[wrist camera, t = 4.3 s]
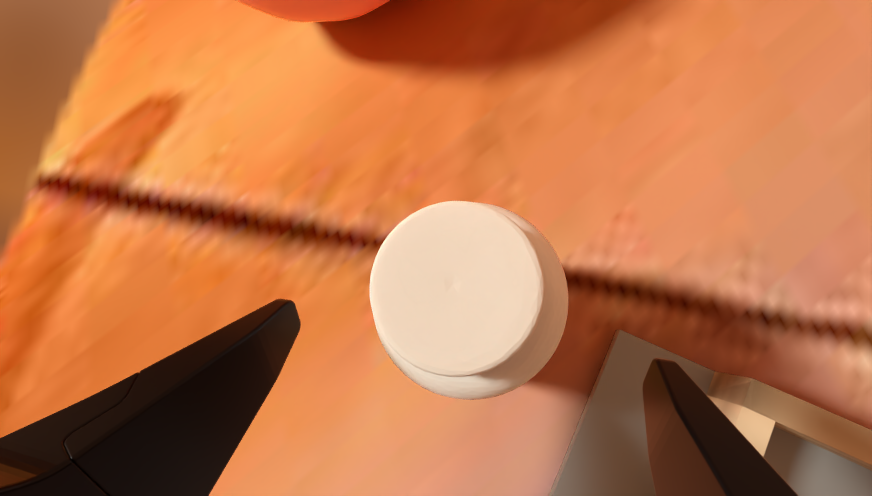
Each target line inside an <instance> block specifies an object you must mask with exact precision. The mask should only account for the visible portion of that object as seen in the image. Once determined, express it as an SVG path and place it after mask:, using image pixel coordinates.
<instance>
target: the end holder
mask: <svg viewBox="0 0 872 496" xmlns="http://www.w3.org/2000/svg"><path fill="white" fill-rule="evenodd" d="M706 395H707V396H708V397H709V398H710V399H711V400H712V401H713V403H714V404H715V405H716V406H717V407H718V408H719V409H720V410H721V411H722V412H723V414H724V415H725V416H726V417H727V418H728V419H729V420H730V421H731V422H732V423H733V424H734V426H735V427H736V428H737V429H738V430H739V431H740V432H741V433H742V434H743V435H744V436H745V438H746V439H747V440H748V441H749V442H750V443H751V444H752V445H753V446H754V447H755V449H756V450H757V451H758V452H759V453H760V454H761V455H762V456H764V454H765V451H766V448H767V445H768V442H769V439H770V436H771V433H772V430H773V427H774V426H775V427H777V428H780V429H782V430H784V431H786V432H788V433H790V434H793V435H795V436H797V437H799V438H801V439H804V440H806V441H808V442H810V443H812V444H814V445H817V446H819V447H821V448H823V449H825V450H827V451H830V452H832V453H834V454H836V455H838V456H841V457H843V458H845V459H847V460H849V461H851V462H854V463H856V464H858V465H860V466H862V467H865V468H867V469H869V470H871V471H872V430H870V429H868V428H866V427H864V426H861V425H859V424H857V423H854V422H852V421H850V420H847V419H845V418H843V417H841V416H838V415H836V414H834V413H831V412H829V411H827V410H824V409H822V408H820V407H818V406H815V405H813V404H811V403H808V402H806V401H804V400H801V399H799V398H797V397H795V396H792V395H790V394H788V393H785V392H783V391H781V390H778V389H776V388H774V387H772V386H769V385H767V384H765V383H762V382H760V381H758V380H755V379H753V378H749V377H743V376H738V375H732V374H727V373H721V372H716V371H715V373H714V375H713V378H712V381H711V384H710V386H709V389H708V392H707V394H706Z"/></svg>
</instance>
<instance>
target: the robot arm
mask: <svg viewBox="0 0 872 496" xmlns="http://www.w3.org/2000/svg"><path fill="white" fill-rule="evenodd" d="M299 330H300V319H299V316H298V313H297V309H296V306H295V303H294V302H293V301H291V300H285V299H277V300H275V301H273V302H271V303H269V304H267V305H265V306H263V307H261V308H259V309H257V310H256V311H254V312H252V313H250V314H248V315H246V316H244V317H242V318H240V319H238V320H236V321H235V322H233V323H231V324H229V325H227V326H225V327H223V328H221V329H219V330H217V331H216V332H214V333H212V334H210V335H208V336H206V337H204V338H202V339H200V340H198V341H196V342H195V343H193V344H191V345H189V346H187V347H185V348H183V349H181V350H179V351H177V352H175V353H174V354H172V355H170V356H168V357H166V358H164V359H162V360H160V361H158V362H156V363H154V364H153V365H151V366H149V367H147V368H145V369H143V370H141V371H140V373H135V374H133V375H131V376H130V377H128V378H126V379H124V380H122V381H120V382H118V383H116V384H114V385H112V386H110V387H108V388H106V389H104V390H102V391H100V392H98V393H96V394H94V395H92V396H90V397H88V398H86V399H84V400H82V401H80V402H78V403H75V404H73V405H71V406H69V407H67V408H65V409H63V410H60V411H58V412H56V413H54V414H52V415H50V416H47V417H45V418H43V419H41V420H39V421H37V422H34V423H32V424H30V425H28V426H26V427H24V428H21V429H19V430H17V431H15V432H13V433H11V434H8V435H6V436H4V437H2V438H0V496H209V494H210V492H211V491H212V489H213V487H214V485H215V484H216V482H217V480H218V479H219V477H220V475H221V474H222V472H223V470H224V468H225V467H226V465H227V463H228V462H229V460H230V458H231V457H232V455H233V453H234V452H235V450H236V448H237V446H238V445H239V443H240V441H241V440H242V438H243V436H244V435H245V433H246V431H247V429H248V428H249V426H250V424H251V423H252V421H253V419H254V418H255V416H256V414H257V412H258V411H259V409H260V407H261V406H262V404H263V402H264V401H265V399H266V397H267V396H268V394H269V392H270V390H271V389H272V387H273V385H274V383H275V382H276V380H277V378H278V376H279V374H280V372H281V370H282V367H283V365H284V363H285V361H286V359H287V357H288V354H289V352H290V350H291V348H292V346H293V344H294V341H295V339H296V337H297V335H298V333H299ZM643 402H644V413H645V424H646V436H647V447H648V456H649V462H650V468H651V473H652V478H653V483H654V487H655V492H656V496H798V494H797V493H796V492H795V491H794V490H793V489H792V488H791V487H790V486H789V485H788V483H787V482H786V481H785V480H784V479H783V478H782V477H781V476H780V475H779V474H778V473H777V471H776V470H775V469H774V468H773V467H772V466H771V465H770V464H769V463H768V462H767V461H766V459H765V458H764V457H763V456H762V455H761V454H760V453H759V452H758V451H757V450H756V449H755V447H754V446H753V445H752V444H751V443H750V442H749V441H748V440H747V439H746V438H745V436H744V435H743V434H742V433H741V432H740V431H739V430H738V429H737V428H736V427H735V426H734V424H733V423H732V422H731V421H730V420H729V419H728V418H727V417H726V416H725V415H724V414H723V412H722V411H721V410H720V409H719V408H718V407H717V406H716V405H715V404H714V403H713V401H712V400H711V399H710V398H709V397H708V396H707V395H706V394H705V393H704V392H703V391H702V389H701V388H700V387H699V386H698V385H697V384H696V383H695V382H694V381H693V380H692V379H691V377H690V376H689V375H688V374H687V373H686V372H685V371H684V370H683V369H682V368H681V367H680V365H679V364H678V363H676V362H675V361H673V360H668V359H662V358H654V359H653V360H652V362H651V364H650V366H649V369H648V371H647V374H646V376H645V379H644V381H643Z"/></svg>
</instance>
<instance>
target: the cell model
mask: <svg viewBox="0 0 872 496" xmlns="http://www.w3.org/2000/svg"><path fill="white" fill-rule="evenodd" d="M236 1H238V2H240V3H242V4H245V5H247V6H249V7H251V8H253V9H256V10H258V11H261V12H263V13H266V14H268V15H271V16H273V17H276V18H280V19H283V20H287V21H292V22H327V21H344V20H349V19H353V18H357V17H359V16H362V15H364V14H367V13H369V12H371V11H373V10H374V9H376V8H378V7H380V6H381V5H383V4H385V3H387V2H388V1H390V0H236Z"/></svg>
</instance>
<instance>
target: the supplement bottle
mask: <svg viewBox="0 0 872 496" xmlns="http://www.w3.org/2000/svg"><path fill="white" fill-rule="evenodd" d="M370 302H371V307H372V312H373V316H374V321H375V325H376V329H377V332H378V335H379V338H380V340H381V343H382V345H383V346H384V348H385V350H386V352H387V353H388V355H389V356H390V358H391V359H392V361H393V362H394V364H395V365H396V366H397V367H398V368H399V369H400V370H401V371H402V372H403V373H404V374H405V375H406V376H407V377H408V378H410V379H411V380H412V381H414V382H415V383H417V384H418V385H420V386H422V387H423V388H425V389H427V390H429V391H431V392H433V393H436V394H439V395H442V396H446V397H451V398H456V399H469V400H474V399H486V398H491V397H495V396H499V395H502V394H505V393H507V392H510V391H512V390H514V389H516V388H518V387H520V386H521V385H523V384H525V383H526V382H527V381H529V380H530V379H531V378H532V377H534V376H535V375H536V374H537V373H538V372H539V371H540V370H541V369H542V368H543V367H544V366H545V365H546V363H547V362H548V361H549V360H550V358H551V357H552V355H553V354H554V352H555V350H556V349H557V347H558V344H559V342H560V340H561V338H562V335H563V332H564V329H565V325H566V320H567V315H568V287H567V281H566V277H565V273H564V270H563V267H562V264H561V262H560V260H559V258H558V256H557V254H556V252H555V250H554V249H553V247H552V246H551V244H550V243H549V242H548V240H547V239H546V238H545V237H544V236H543V234H542V233H541V232H540V231H539V230H538V229H537V228H536V227H535V226H533V225H532V224H531V223H530V222H528V221H527V220H525V219H524V218H523V217H521V216H519V215H517V214H516V213H514V212H512V211H509V210H507V209H504V208H502V207H499V206H495V205H491V204H485V203H474V202H467V201H447V202H441V203H437V204H434V205H430V206H427V207H425V208H423V209H421V210H418V211H416V212H415V213H413V214H411V215H410V216H408V217H407V218H406V219H404V220H403V221H402V222H400V223H399V224H398V225H397V226H396V227H395V228H394V229H393V230H392V231H391V232H390V234H389V235H388V237H387V238H386V239H385V241H384V242H383V244H382V246H381V247H380V249H379V251H378V254H377V256H376V258H375V261H374V264H373V267H372V272H371V278H370Z"/></svg>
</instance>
